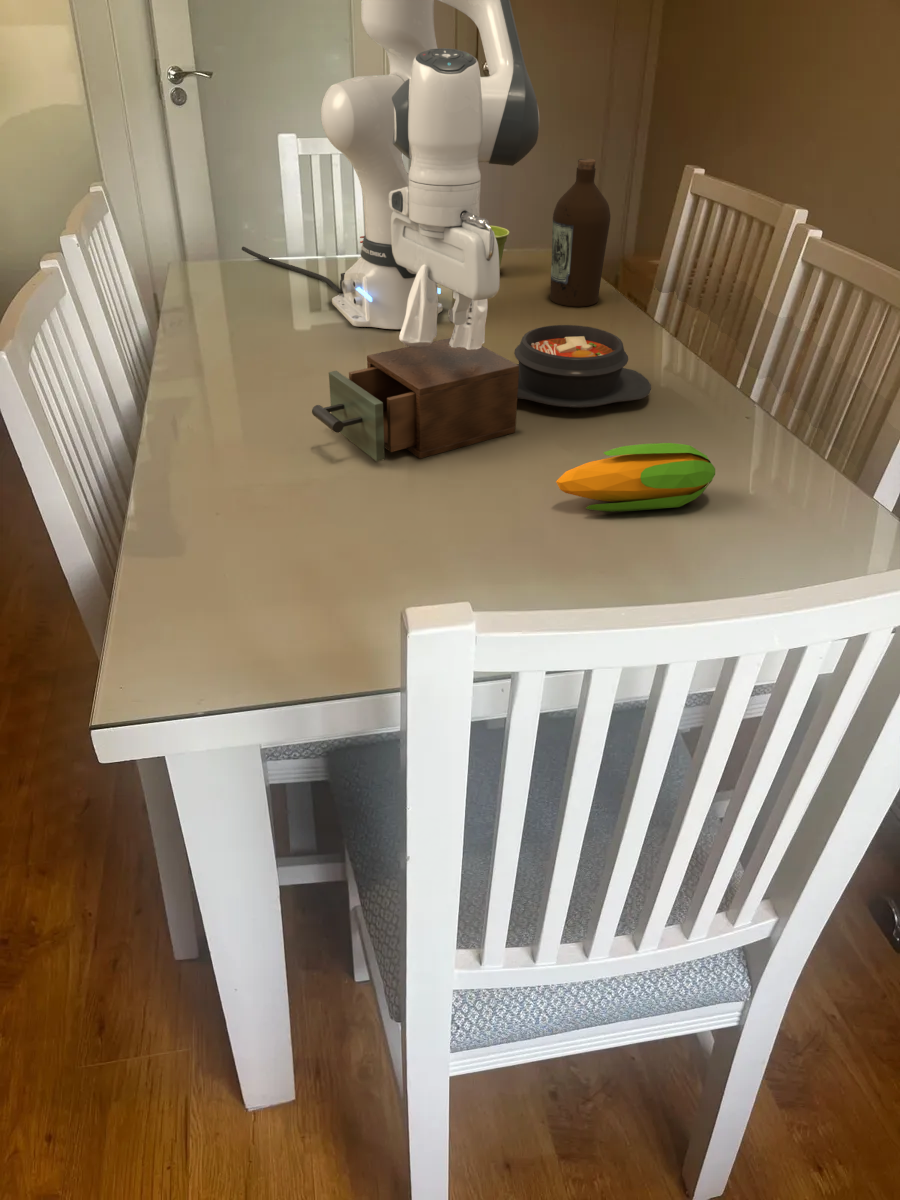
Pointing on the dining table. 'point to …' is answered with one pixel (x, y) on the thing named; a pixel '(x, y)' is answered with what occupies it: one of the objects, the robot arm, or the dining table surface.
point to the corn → (641, 477)
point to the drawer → (370, 411)
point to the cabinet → (454, 393)
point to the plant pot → (500, 239)
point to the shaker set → (424, 317)
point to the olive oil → (579, 240)
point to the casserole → (576, 368)
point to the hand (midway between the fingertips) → (443, 315)
